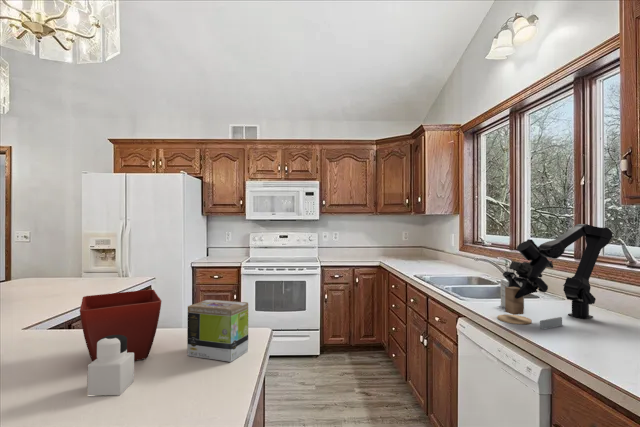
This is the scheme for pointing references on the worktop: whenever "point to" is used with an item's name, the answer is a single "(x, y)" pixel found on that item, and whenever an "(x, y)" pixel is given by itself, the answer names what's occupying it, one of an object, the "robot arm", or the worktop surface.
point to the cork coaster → (514, 319)
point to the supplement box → (504, 284)
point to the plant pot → (121, 320)
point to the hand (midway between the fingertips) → (511, 296)
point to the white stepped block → (111, 367)
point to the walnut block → (513, 301)
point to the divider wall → (551, 323)
